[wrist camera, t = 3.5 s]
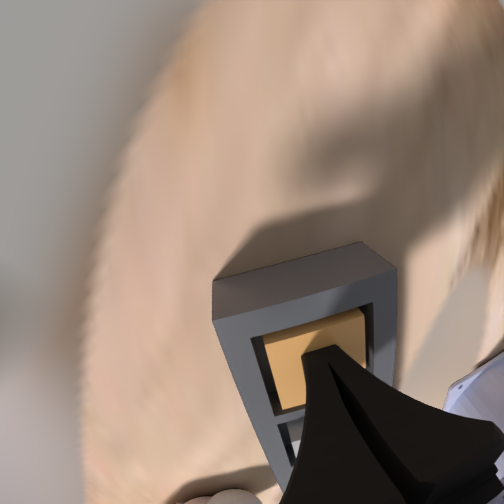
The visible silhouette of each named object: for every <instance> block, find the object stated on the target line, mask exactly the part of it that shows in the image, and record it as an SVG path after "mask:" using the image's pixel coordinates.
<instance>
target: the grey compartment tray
mask: <svg viewBox="0 0 504 504" xmlns="http://www.w3.org/2000/svg"><path fill="white" fill-rule="evenodd" d="M356 307H358V308H359V309H360V311H361V312H362V313H363V314H364V319H365V356H366V370H368V371H369V372H371V373H372V374H373V375H375V376H376V377H377V378H379V379H380V380H382V381H383V382H385V383H387V384H388V385H390V386H391V387H392V386H393V376H394V364H395V350H396V331H397V268H396V267H394V266H393V265H392V264H390V263H389V262H388V261H386V260H385V259H384V258H382V257H381V256H380V255H378V254H377V253H376V252H374V251H373V250H372V249H370V248H369V247H368V246H366V245H365V244H364V243H362V242H358V243H354V244H351V245H347V246H344V247H340V248H336V249H333V250H329V251H325V252H322V253H318V254H314V255H310V256H307V257H303V258H299V259H296V260H292V261H288V262H284V263H280V264H277V265H273V266H269V267H265V268H261V269H258V270H254V271H250V272H246V273H242V274H238V275H234V276H230V277H227V278H223V279H219V280H215V281H212V322H213V325H214V328H215V331H216V333H217V336H218V339H219V342H220V344H221V347H222V350H223V352H224V355H225V358H226V360H227V363H228V366H229V368H230V371H231V373H232V376H233V379H234V381H235V384H236V386H237V389H238V391H239V394H240V396H241V399H242V401H243V404H244V406H245V409H246V411H247V413H248V416H249V418H250V421H251V423H252V425H253V428H254V430H255V432H256V435H257V437H258V439H259V442H260V444H261V446H262V449H263V451H264V453H265V455H266V458H267V460H268V462H269V464H270V467H271V469H272V471H273V473H274V475H275V477H276V480H277V482H278V484H279V486H280V488H281V490H282V492H283V494H284V492H285V490H286V487H287V485H288V482H289V479H290V476H291V473H292V470H293V467H294V464H295V461H296V456H295V453H294V449H293V446H292V442H291V439H290V435H289V431H288V427H287V423H286V422H289V421H293V420H296V419H300V418H304V417H305V404H302V405H299V406H295V407H291V408H288V409H284V410H282V406H281V403H280V399H279V395H278V392H277V388H276V385H275V381H274V377H273V374H272V370H271V367H270V363H269V359H268V356H267V352H266V348H265V345H264V341H263V337H262V335H264V334H268V333H271V332H275V331H279V330H282V329H286V328H290V327H293V326H297V325H300V324H304V323H307V322H311V321H314V320H318V319H321V318H324V317H328V316H331V315H334V314H337V313H340V312H344V311H347V310H350V309H353V308H356Z"/></svg>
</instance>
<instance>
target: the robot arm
mask: <svg viewBox="0 0 504 504" xmlns="http://www.w3.org/2000/svg"><path fill="white" fill-rule="evenodd" d="M301 361H302V367H303V372H304V377H305V383H306V404H305V417H304V424H303V431H302V436H301V441H300V445H299V450H298V454H297V457H296V461H295V464H294V467H293V470H292V473H291V476H290V479H289V482H288V485H287V487H286V490H285V492H284V494H283V496H282V499H281V501H280V503H279V504H504V352H502V353H501V354H499V355H498V356H496V357H495V358H493V359H492V360H490V361H489V362H487V363H486V364H484V365H483V366H481V367H480V368H478V369H476V370H475V371H473V372H471V373H470V374H468V375H466V376H465V377H463V378H462V379H460V380H458V381H456V382H454V383H453V384H452V385H451V386H450V387H449V390H448V393H447V397H446V400H445V403H444V406H443V409H442V410H440V409H437V408H435V407H432V406H429V405H427V404H424V403H422V402H420V401H418V400H415V399H413V398H411V397H409V396H407V395H405V394H403V393H402V392H400V391H398V390H396V389H395V388H393V387H391V386H390V385H388V384H387V383H385V382H383V381H382V380H380V379H379V378H377V377H376V376H375V375H373V374H372V373H371V372H369V371H368V370H366V369H365V368H364V367H362V366H361V365H360V364H359V363H357V362H356V361H355V360H354V359H353V358H351V357H350V356H349V355H348V354H347V353H346V352H344V351H343V350H342V349H341V348H340V347H339V346H338V345H336V344H333V345H330V346H327V347H324V348H321V349H317V350H314V351H311V352H307V353H304V354H303V355H302V356H301Z"/></svg>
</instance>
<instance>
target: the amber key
mask: <svg viewBox="0 0 504 504" xmlns="http://www.w3.org/2000/svg"><path fill="white" fill-rule="evenodd" d="M262 337H263V341H264V345H265V348H266V352H267V356H268V359H269V363H270V367H271V370H272V374H273V377H274V381H275V385H276V388H277V392H278V395H279V399H280V403H281V406H282V410H284V409H288V408H291V407H295V406H299V405H302V404H306V383H305V377H304V372H303V367H302V361H301V356H302V355H303V354H304V353H307V352H311V351H314V350H317V349H321V348H324V347H327V346H330V345H333V344H336V345H338V346H339V347H340V348H341V349H342V350H343V351H344V352H346V353H347V354H348V355H349V356H350V357H351V358H353V359H354V360H355V361H356V362H357V363H359V364H360V365H361V366H362V367H364V368H365V369H366V356H365V319H364V314H363V313H362V312H361V311H360V309H359V308H358V307H356V308H353V309H350V310H347V311H344V312H340V313H337V314H334V315H331V316H328V317H324V318H321V319H318V320H314V321H311V322H307V323H304V324H300V325H297V326H293V327H290V328H286V329H282V330H279V331H275V332H271V333H268V334H264V335H262Z"/></svg>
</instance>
